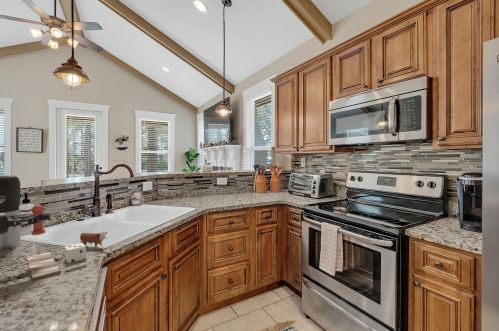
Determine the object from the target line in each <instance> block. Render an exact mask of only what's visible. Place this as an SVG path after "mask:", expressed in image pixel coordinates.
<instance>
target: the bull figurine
mask: <svg viewBox="0 0 499 331" xmlns="http://www.w3.org/2000/svg"><path fill="white" fill-rule="evenodd" d="M107 234H108V232H107V231H106V232H105V231H99V232H93V233H91V232H82V233H80V236H79V238H80V243H83V244H84V245H85V246H86V247H87V245H88V244H90V245H92V244H94V248H97V246H98V245H99V246H100V245H101V246H103V241H104V240H106V238H107V237H106V235H107Z"/></svg>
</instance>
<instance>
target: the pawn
mask: <svg viewBox="0 0 499 331" xmlns="http://www.w3.org/2000/svg"><path fill="white" fill-rule="evenodd" d="M44 211H45V208H44V206H43V205H42V204H36V205H33V206H32V207H31V212H32V213H31V214H33V216H35V215H43V213H44ZM32 221H34V219H33V220H32ZM32 226H33V227H32V228H33V230H31V232H30V233H31V236H39V235H43V234H45V233H46V229H45V228H44V220H42V221H38V223H35V224H32Z"/></svg>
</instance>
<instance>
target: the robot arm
mask: <svg viewBox="0 0 499 331" xmlns="http://www.w3.org/2000/svg"><path fill="white" fill-rule="evenodd" d="M0 197H5V199H4V200H3V201H2V202H0V251H5V250H9V249H10V250H11V249H15V248H19V247H21V246H22V242H21V241H22V240H21V234H22V233H21V227H23V228H24V227H27V226H33V224H35V223H38V221H42V220H43V221H47V220H49V219H50V214H49V213H45V212H43V215H35V216H33V213H24V214H23V213H22V214H20V204H21V181H20V179H19V177H18V176H16V175H0ZM33 219H34V221H33Z"/></svg>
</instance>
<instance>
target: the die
mask: <svg viewBox="0 0 499 331" xmlns="http://www.w3.org/2000/svg"><path fill="white" fill-rule="evenodd" d="M64 259H65V261H66V262H67V263H68V264H70V263H74V262H78V261H82V260H86V259H87V245H86V246H85V245H84V244H83V243H81V242H79V243H75V244H70V245H65V246H64Z"/></svg>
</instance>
